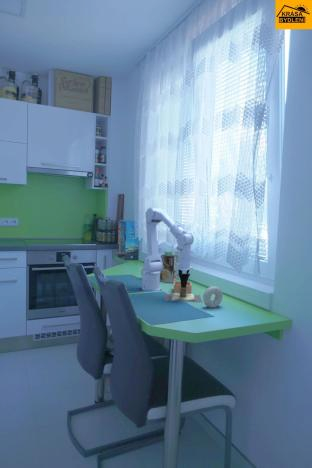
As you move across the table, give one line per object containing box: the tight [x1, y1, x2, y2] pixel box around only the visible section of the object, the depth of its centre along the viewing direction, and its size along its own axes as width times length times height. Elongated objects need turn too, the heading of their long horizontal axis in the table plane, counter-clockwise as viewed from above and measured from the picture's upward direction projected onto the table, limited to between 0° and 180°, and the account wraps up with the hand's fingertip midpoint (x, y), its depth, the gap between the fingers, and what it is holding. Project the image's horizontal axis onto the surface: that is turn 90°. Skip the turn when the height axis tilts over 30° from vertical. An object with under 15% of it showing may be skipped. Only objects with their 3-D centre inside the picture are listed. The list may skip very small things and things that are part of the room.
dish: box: [173, 280, 192, 294], centre depth 179 cm, size 9×9×5 cm
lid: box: [171, 287, 195, 302], centre depth 166 cm, size 11×11×5 cm
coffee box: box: [159, 254, 178, 284], centre depth 205 cm, size 9×6×16 cm
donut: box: [202, 285, 224, 309], centre depth 152 cm, size 10×4×10 cm, turn 117°
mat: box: [163, 293, 203, 303], centre depth 166 cm, size 18×13×1 cm
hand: (183, 285), depth 166 cm, fingers open, 7 cm apart
